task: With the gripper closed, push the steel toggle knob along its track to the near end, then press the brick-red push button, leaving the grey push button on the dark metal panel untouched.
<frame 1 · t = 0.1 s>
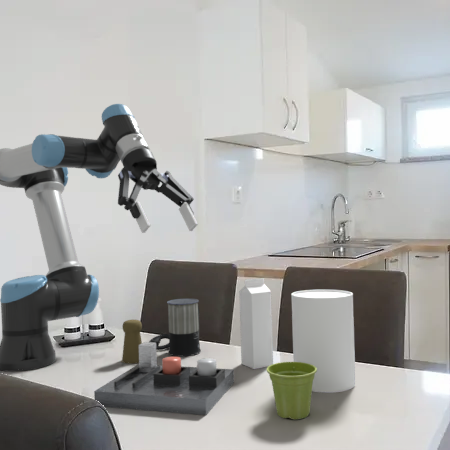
hand: (171, 228, 113), 36 cm above the table, tool tilted 35°, fingers open, 13 cm apart
milk: (257, 365, 129), on the table
canister: (324, 383, 113), on the table
button: (171, 366, 109), point 6 cm above the table, slide at 0.0 cm
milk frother: (174, 351, 146), on the table
grey button: (206, 367, 107), point 6 cm above the table, slide at 0.0 cm
panel: (168, 393, 109), on the table
plant pot: (293, 415, 95), on the table
toggle: (147, 356, 116), point 6 cm above the table, slide at 5.0 cm
cork: (133, 361, 137), on the table
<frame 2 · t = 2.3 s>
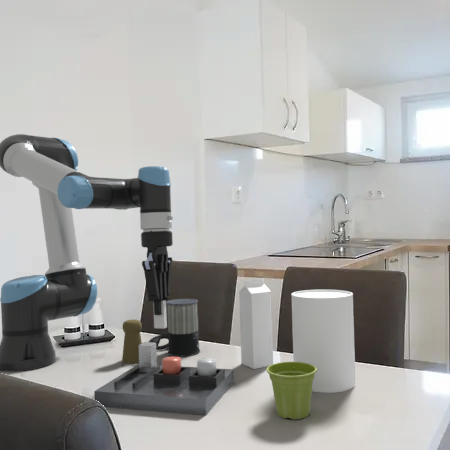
hand: (160, 327, 122), 12 cm above the table, tool pointing down, fingers closed
nothing on the table moved.
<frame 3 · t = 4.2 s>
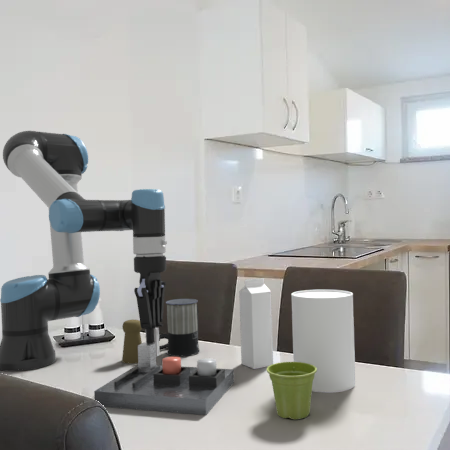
hand: (153, 355, 119), 6 cm above the table, tool pointing down, fingers closed
toggle: (147, 357, 116), point 6 cm above the table, slide at 4.6 cm, touching gripper
everything else where it was.
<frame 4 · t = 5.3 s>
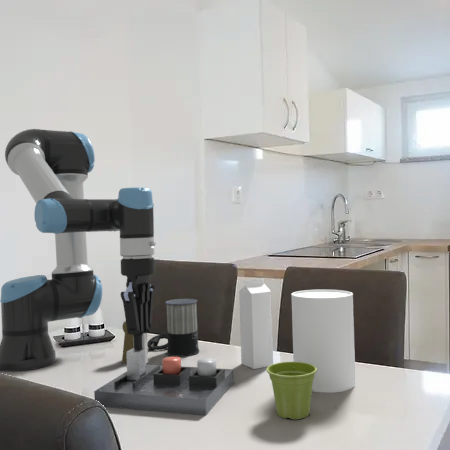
hand: (141, 362, 112), 6 cm above the table, tool pointing down, fingers closed
toggle: (136, 363, 110), point 6 cm above the table, slide at -0.9 cm, touching gripper
everything else where it was.
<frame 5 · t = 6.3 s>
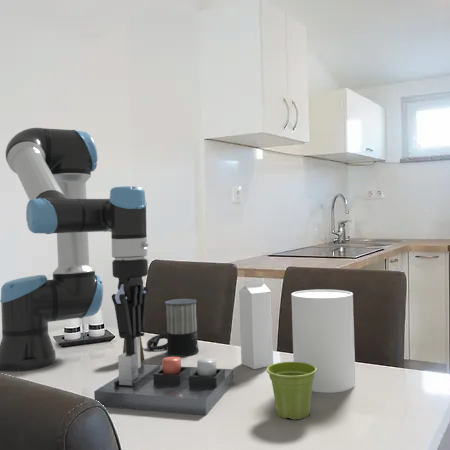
hand: (133, 367, 109), 6 cm above the table, tool pointing down, fingers closed
toggle: (128, 368, 107), point 6 cm above the table, slide at -4.5 cm, touching gripper
everything else where it was.
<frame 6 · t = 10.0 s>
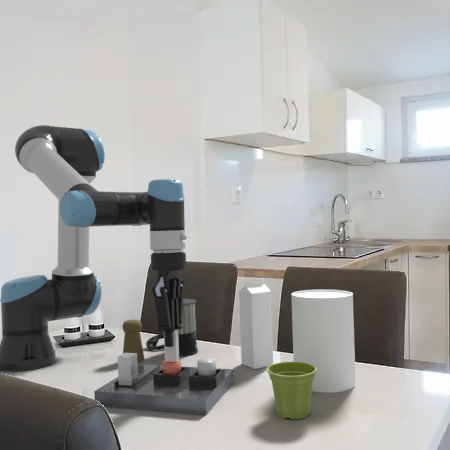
hand: (172, 360, 109), 7 cm above the table, tool pointing down, fingers closed
button: (171, 368, 109), point 5 cm above the table, slide at 0.6 cm, touching gripper
toggle: (127, 369, 107), point 6 cm above the table, slide at -4.7 cm
everything else where it was.
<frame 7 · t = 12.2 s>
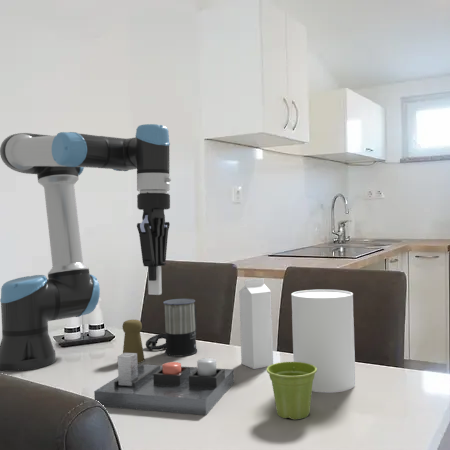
hand: (155, 294, 117), 20 cm above the table, tool pointing down, fingers closed
button: (171, 371, 109), point 5 cm above the table, slide at 1.2 cm
everything else where it was.
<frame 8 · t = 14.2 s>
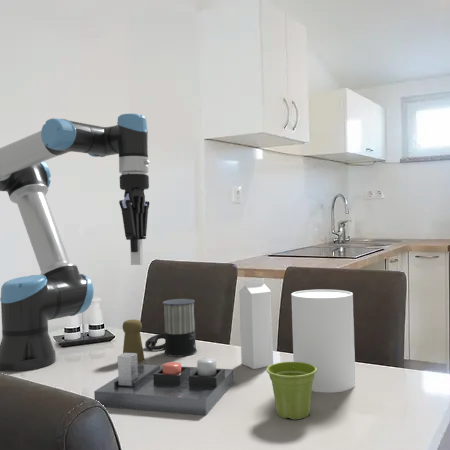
hand: (136, 264, 132), 26 cm above the table, tool pointing down, fingers closed
at the end: toggle slide at -4.7 cm; button slide at 1.2 cm; grey button slide at 0.0 cm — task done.
